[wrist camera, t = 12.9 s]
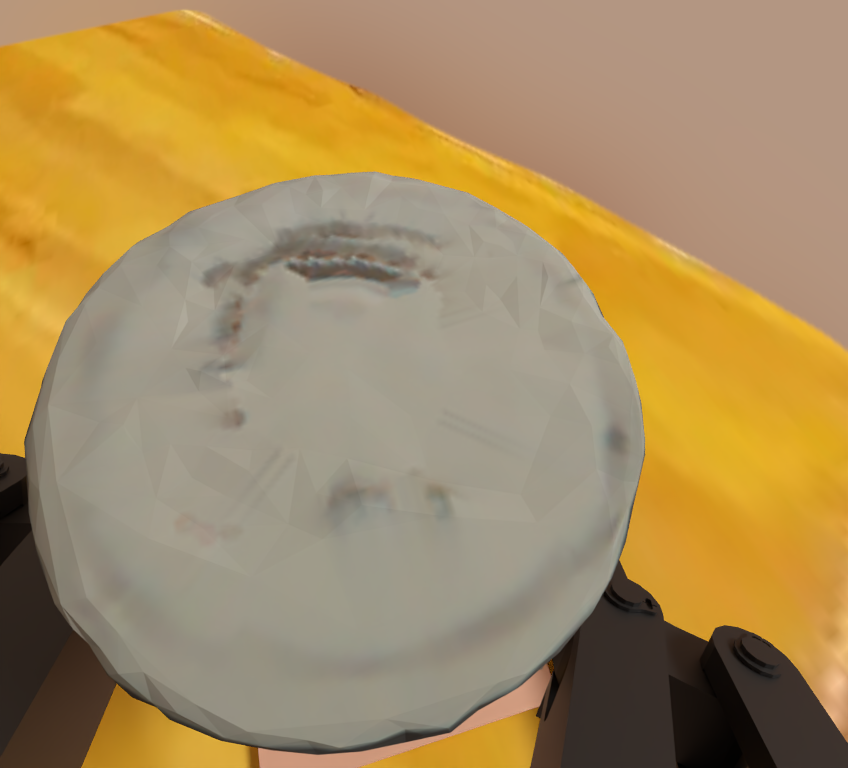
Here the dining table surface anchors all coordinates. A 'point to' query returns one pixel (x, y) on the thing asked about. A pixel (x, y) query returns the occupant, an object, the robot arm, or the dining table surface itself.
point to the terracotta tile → (528, 696)
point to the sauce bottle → (333, 463)
